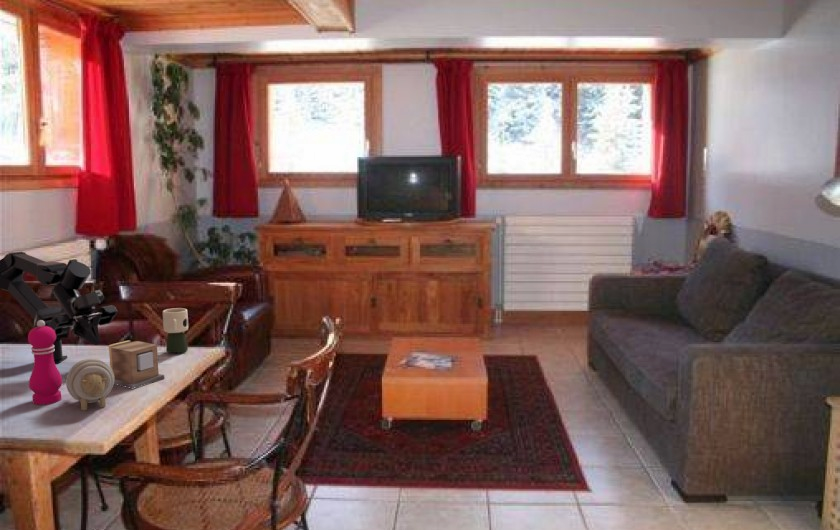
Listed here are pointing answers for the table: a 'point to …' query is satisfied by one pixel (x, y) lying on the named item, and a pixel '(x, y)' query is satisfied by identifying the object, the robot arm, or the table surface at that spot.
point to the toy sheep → (90, 381)
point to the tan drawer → (142, 358)
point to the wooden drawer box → (133, 364)
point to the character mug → (176, 329)
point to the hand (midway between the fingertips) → (98, 344)
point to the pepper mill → (44, 366)
